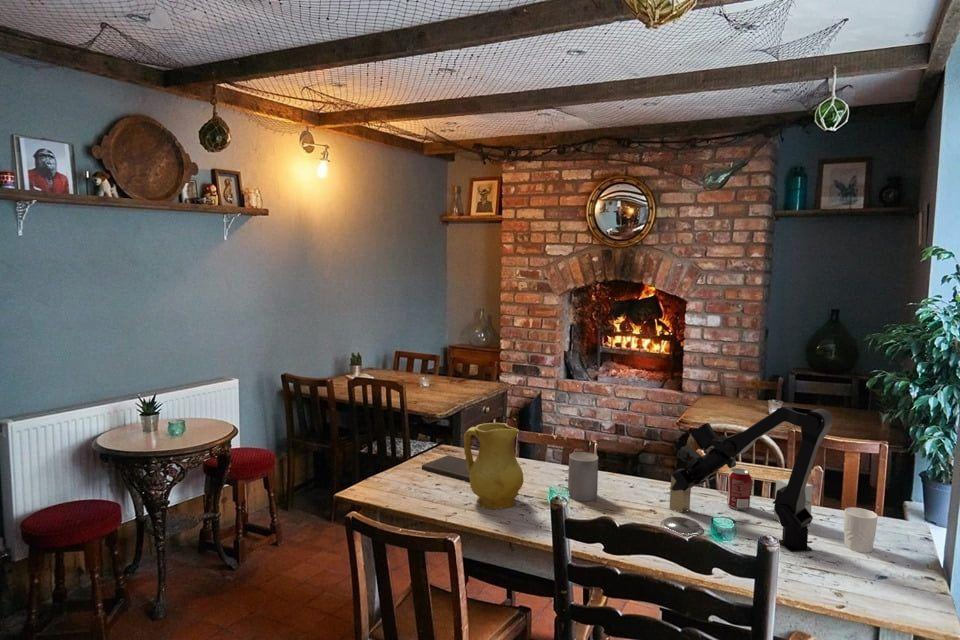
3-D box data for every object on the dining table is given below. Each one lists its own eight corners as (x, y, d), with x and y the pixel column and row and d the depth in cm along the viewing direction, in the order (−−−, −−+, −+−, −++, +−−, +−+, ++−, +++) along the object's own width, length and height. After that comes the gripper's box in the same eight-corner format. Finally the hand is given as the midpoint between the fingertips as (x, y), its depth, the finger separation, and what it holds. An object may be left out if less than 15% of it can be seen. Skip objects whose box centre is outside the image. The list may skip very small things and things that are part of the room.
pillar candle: (574, 489, 218) (575, 446, 216) (601, 494, 213) (603, 451, 211) (562, 497, 209) (564, 453, 208) (590, 504, 204) (592, 458, 203)
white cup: (844, 539, 182) (847, 505, 182) (876, 547, 177) (879, 512, 177) (839, 547, 176) (842, 513, 175) (872, 556, 171) (875, 520, 171)
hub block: (689, 509, 202) (691, 473, 201) (682, 513, 199) (684, 476, 198) (676, 505, 205) (678, 469, 204) (669, 508, 202) (671, 472, 201)
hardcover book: (448, 460, 248) (448, 455, 247) (497, 473, 234) (497, 467, 234) (421, 470, 235) (421, 464, 234) (471, 484, 221) (471, 478, 221)
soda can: (751, 512, 201) (753, 475, 200) (728, 510, 202) (731, 473, 201) (746, 504, 208) (749, 468, 207) (725, 502, 209) (727, 466, 208)
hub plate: (710, 535, 182) (710, 531, 182) (671, 536, 181) (671, 532, 181) (691, 518, 194) (691, 515, 194) (653, 520, 193) (654, 516, 192)
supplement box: (790, 528, 189) (793, 487, 188) (772, 518, 196) (775, 478, 195) (810, 526, 191) (813, 485, 190) (792, 516, 198) (795, 477, 197)
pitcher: (493, 515, 192) (494, 433, 191) (456, 500, 206) (457, 423, 205) (534, 505, 202) (535, 426, 202) (495, 491, 217) (497, 418, 216)
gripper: (709, 435, 203) (676, 460, 212) (679, 445, 191) (645, 471, 200) (732, 465, 198) (697, 489, 207) (702, 477, 186) (666, 503, 195)
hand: (676, 487), depth 202 cm, fingers closed on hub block, 4 cm apart
